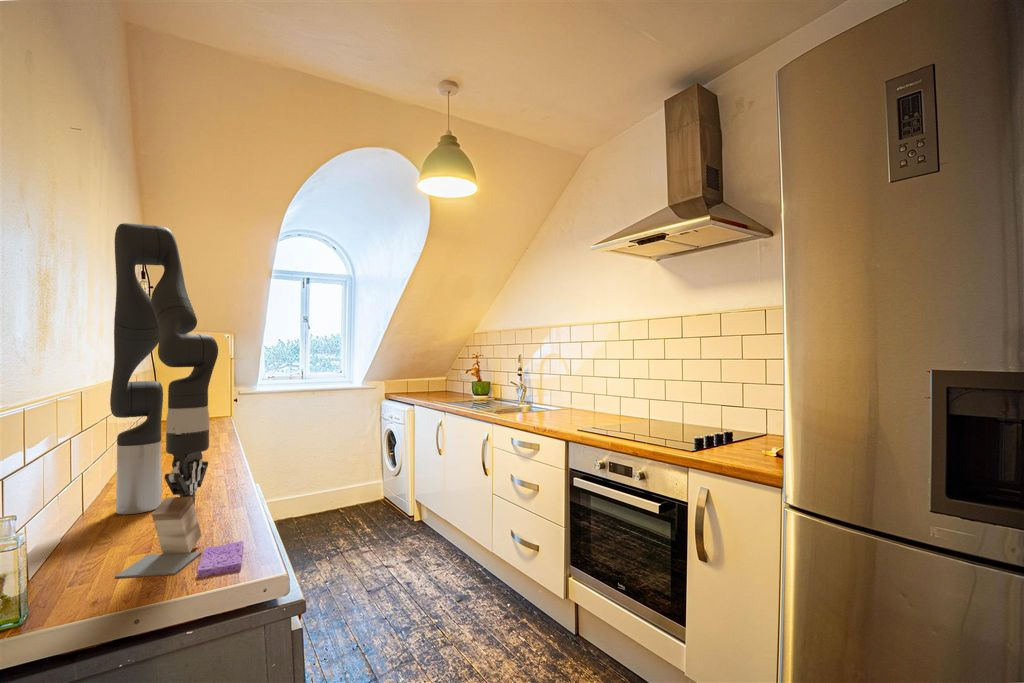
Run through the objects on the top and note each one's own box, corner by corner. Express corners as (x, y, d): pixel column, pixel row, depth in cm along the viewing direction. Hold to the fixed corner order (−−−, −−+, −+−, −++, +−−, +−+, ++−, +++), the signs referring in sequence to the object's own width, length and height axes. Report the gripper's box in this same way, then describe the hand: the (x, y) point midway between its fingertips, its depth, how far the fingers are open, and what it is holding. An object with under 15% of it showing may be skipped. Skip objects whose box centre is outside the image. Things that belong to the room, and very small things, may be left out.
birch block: (175, 536, 103) (165, 497, 99) (201, 535, 103) (192, 496, 100) (162, 554, 98) (151, 514, 94) (189, 553, 99) (179, 513, 95)
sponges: (196, 580, 87) (196, 570, 88) (204, 555, 99) (204, 546, 99) (241, 572, 91) (241, 562, 91) (243, 548, 102) (243, 539, 102)
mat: (147, 556, 97) (147, 554, 97) (201, 553, 98) (201, 552, 98) (115, 577, 88) (115, 576, 88) (175, 574, 89) (175, 572, 89)
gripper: (185, 425, 109) (184, 503, 108) (149, 434, 95) (148, 524, 95) (221, 424, 110) (221, 502, 109) (190, 433, 96) (189, 522, 96)
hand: (187, 512), depth 102 cm, fingers closed
